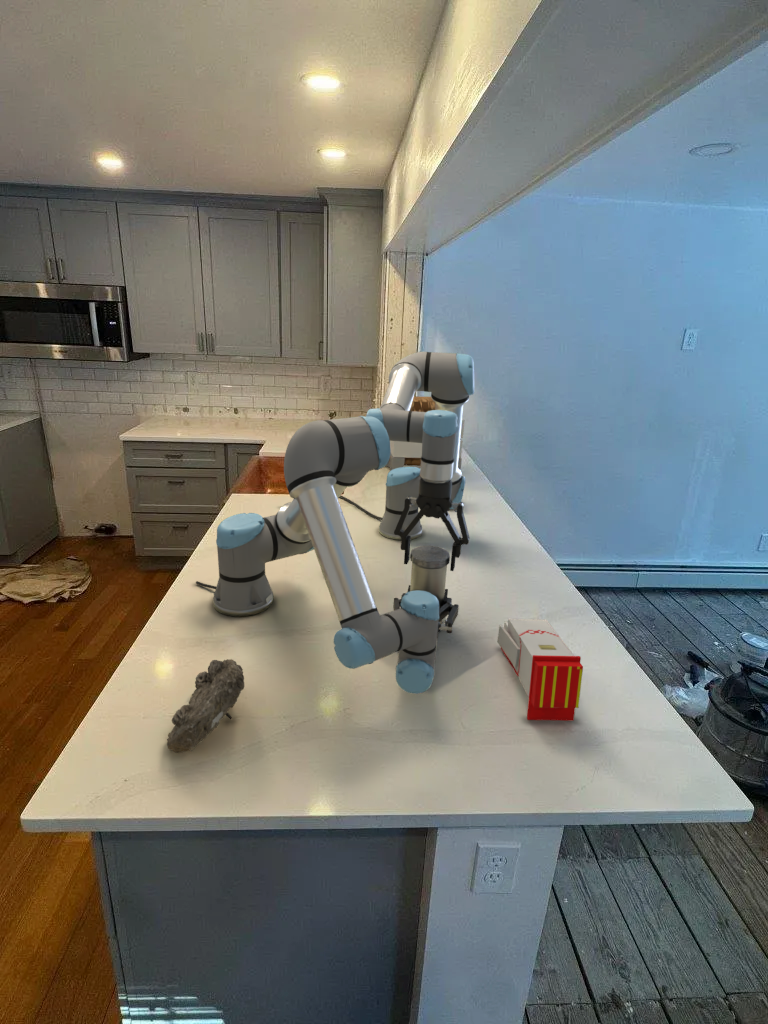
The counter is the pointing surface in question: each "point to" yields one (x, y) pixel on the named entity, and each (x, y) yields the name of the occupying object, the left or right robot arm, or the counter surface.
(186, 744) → the fossil
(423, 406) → the white wooden box
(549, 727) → the counter surface
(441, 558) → the lid
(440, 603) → the jar
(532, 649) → the toy
